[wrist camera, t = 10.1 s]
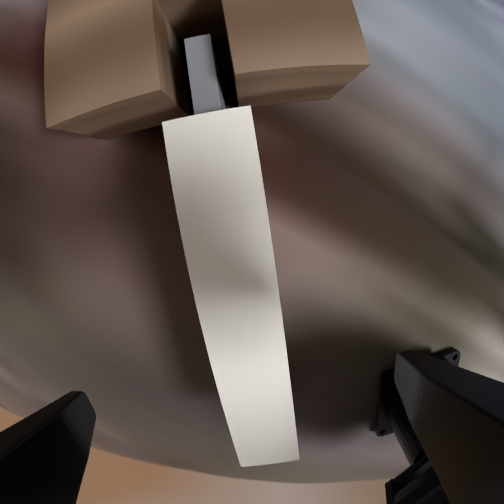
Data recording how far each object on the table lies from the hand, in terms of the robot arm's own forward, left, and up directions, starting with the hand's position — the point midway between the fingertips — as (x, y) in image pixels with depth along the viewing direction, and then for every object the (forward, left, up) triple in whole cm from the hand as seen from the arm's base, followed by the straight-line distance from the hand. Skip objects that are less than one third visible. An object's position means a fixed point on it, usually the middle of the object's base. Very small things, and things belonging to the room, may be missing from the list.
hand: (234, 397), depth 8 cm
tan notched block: (+14, 0, -10) cm, 17 cm away
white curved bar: (+1, 0, -10) cm, 10 cm away
